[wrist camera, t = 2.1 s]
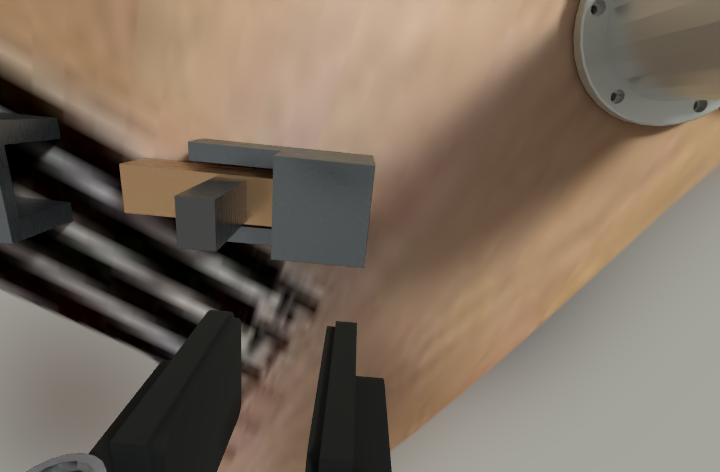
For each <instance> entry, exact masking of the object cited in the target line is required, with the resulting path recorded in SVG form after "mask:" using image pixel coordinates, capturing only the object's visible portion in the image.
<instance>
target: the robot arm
mask: <svg viewBox="0 0 720 472" xmlns="http://www.w3.org/2000/svg"><path fill="white" fill-rule="evenodd" d="M591 8H593V14H592V12H591ZM573 40H574V58H575V62H576V66H577V70H578V74H579V77H580V79H581V81H582V83H583V85H584V87H585V89H586V91H587V93H588V94H589V95H590V96H591V98H592V99H593V100H594V101H595V103H596V104H597V105H598V106H600V107H601V108H602V109H603V110H605V111H606V112H607V113H608V114H610V115H612V116H614V117H616V118H618V119H620V120H623V121H625V122H629V123H634V124H639V125H651V126H665V125H676V124H680V123H684V122H688V121H691V120H695V119H697V118H700V117H702V116H704V115H706V114H708V113H710V112H712V111H715V110H716V109H718V108H719V107H720V0H580V4H579V7H578V11H577V14H576V20H575V28H574V36H573ZM611 95H612V98H611ZM356 336H357V323H351V322H340V321H336V325H335V327H332V326H327V330H326V336H325V343H324V349H323V355H322V362H321V368H320V374H319V380H318V387H317V393H316V399H315V406H314V412H313V418H312V425H311V431H310V437H309V444H308V451H307V460H306V470H305V472H392V471H391V460H390V447H389V434H388V422H387V410H386V397H385V385H384V380H383V378H373V377H361V376H356ZM240 409H241V320H240V319H239V318H234V314H233V312H227V311H215V310H209V311H208V312H207V313H206V315H205V316H204V317H203V319H202V320H201V321H200V323H199V324H198V325H197V327H196V328H195V329H194V331H193V332H192V333H191V335H190V336H189V337H188V339H187V340H186V341H185V343H184V344H183V345H182V347H181V348H180V349H179V351H178V352H177V353H176V355H175V356H174V357H173V359H172V360H165V361H163V362H161V363H160V364H159V365H158V366H157V368H156V369H155V370H154V371H153V373H152V374H151V375H150V377H149V378H148V379H147V380H146V382H145V383H144V384H143V385H142V387H141V388H140V389H139V390H138V392H137V393H136V394H135V396H134V397H133V398H132V399H131V401H130V402H129V403H128V404H127V406H126V407H125V408H124V409H123V411H122V412H121V413H120V415H119V416H118V417H117V418H116V420H115V421H114V422H113V423H112V425H111V426H110V427H109V429H108V430H107V431H106V432H105V434H104V435H103V436H102V437H101V439H100V440H99V441H98V442H97V444H96V445H95V446H94V448H93V449H92V450H91V451H90V453H89V454H84V453H77V454H67V455H63V456H59V457H56V458H52V459H50V460H48V461H46V462H43V463H41V464H39V465H37V466H35V467H33V468H32V469H30V470H29V471H27V472H217V470H218V467H219V465H220V462H221V460H222V457H223V455H224V452H225V450H226V447H227V445H228V442H229V440H230V437H231V435H232V432H233V430H234V427H235V425H236V422H237V420H238V417H239V413H240Z"/></svg>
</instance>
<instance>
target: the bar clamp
mask: <svg viewBox="0 0 720 472" xmlns="http://www.w3.org/2000/svg"><path fill="white" fill-rule="evenodd" d="M54 139H60V132H59V126H58V119H57V118H52V117H42V116H32V115H22V114H12V113H3V112H0V243H8V244H14V243H16V242H19V241H21V240H24V239H27V238H29V237H32V236H34V235H37V234H39V233H42V232H44V231H47V230H49V229H52V228H55V227H57V226H60V225H62V224H65V223H67V222H70V221H72V220H73V216H72V209H71V203H70V202H63V201H52V200H42V199H31V198H21V197H15V195H14V190H13V185H12V181H11V176H10V171H9V166H8V161H7V156H6V151H5V146H4V145H6V144H16V143H25V142H35V141H44V140H54ZM188 150H189V160H190V161H200V162H210V163H220V164H230V165H240V166H250V167H260V168H270V169H273V194H272V227H269V226H259V225H248V224H243V225H242V226H241V227H240V228H239V229H238V230H237V231H236V232H235V233H234V234H233V235H232V236H231V237H230V238H229V239H228V240H227V241H228V242H239V243H249V244H260V245H271V259H273V260H284V261H294V262H305V263H316V264H327V265H338V266H348V267H359V268H364V262H365V253H366V244H367V235H368V226H369V217H370V208H371V199H372V190H373V181H374V172H375V163H374V158H373V156H370V155H360V154H350V153H340V152H330V151H320V150H311V149H301V148H291V147H281V146H271V145H261V144H251V143H241V142H231V141H221V140H211V139H199V140H194V141H189V142H188Z"/></svg>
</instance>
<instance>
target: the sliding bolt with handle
mask: <svg viewBox="0 0 720 472" xmlns="http://www.w3.org/2000/svg"><path fill="white" fill-rule="evenodd" d="M119 166H120V175H121V184H122V193H123V203H124V212H125V213H133V214H143V215H154V216H164V217H175V218H176V231H177V247H178V248H182V249H193V250H203V251H214V252H216V251H217V250H218V249H219V248H220V247H221V246H222V245H223V244H224V243H225V242H226V241H227V240H228V239H229V238H230V237H231V236H232V235H233V234H234V233H235V232H236V231H237V230H238V229H239V228H240V227H241V226H242V225H243V224H248V225H259V226H269V227H272V194H273V171H272V170H262V169H252V168H242V167H232V166H222V165H212V164H202V163H192V162H181V161H171V160H161V159H151V158H143V159H138V160H134V161H130V162H126V163H121V164H119Z"/></svg>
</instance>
